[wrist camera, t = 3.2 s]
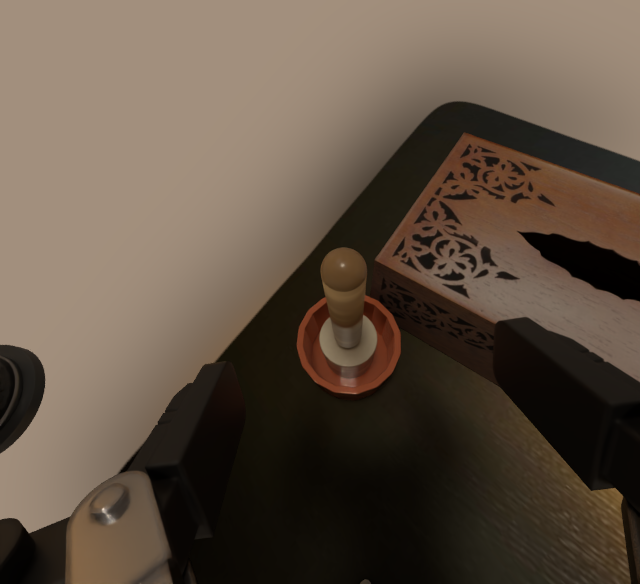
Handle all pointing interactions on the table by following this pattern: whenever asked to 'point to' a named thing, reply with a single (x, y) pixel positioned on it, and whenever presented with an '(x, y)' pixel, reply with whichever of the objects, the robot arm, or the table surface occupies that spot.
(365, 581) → the container
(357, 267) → the tan piece
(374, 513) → the table surface
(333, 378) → the brush holder
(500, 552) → the table surface
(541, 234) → the tissue box cover
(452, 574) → the table surface
